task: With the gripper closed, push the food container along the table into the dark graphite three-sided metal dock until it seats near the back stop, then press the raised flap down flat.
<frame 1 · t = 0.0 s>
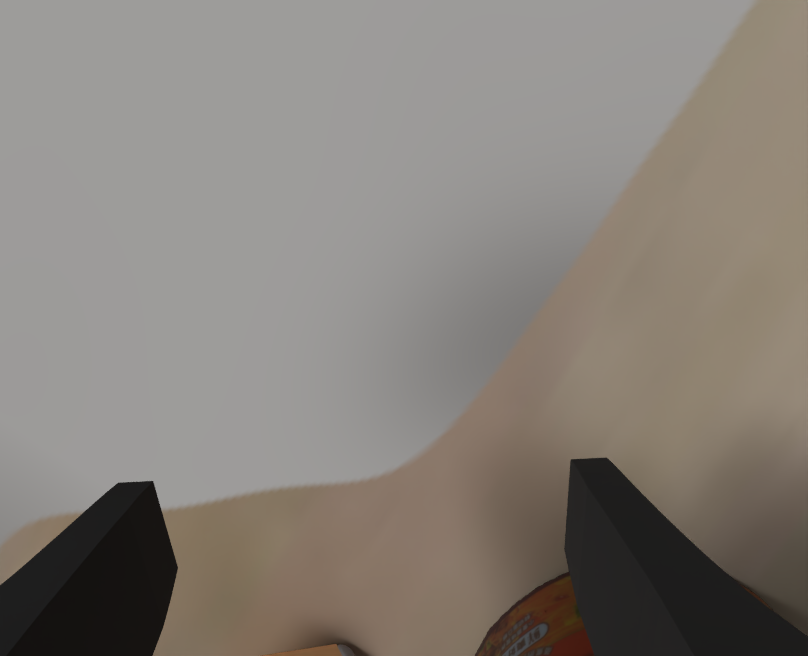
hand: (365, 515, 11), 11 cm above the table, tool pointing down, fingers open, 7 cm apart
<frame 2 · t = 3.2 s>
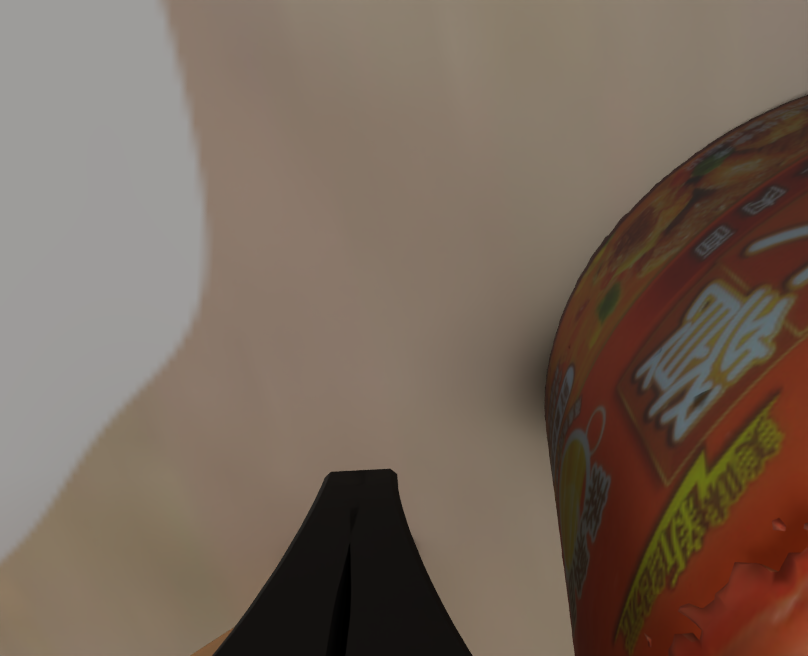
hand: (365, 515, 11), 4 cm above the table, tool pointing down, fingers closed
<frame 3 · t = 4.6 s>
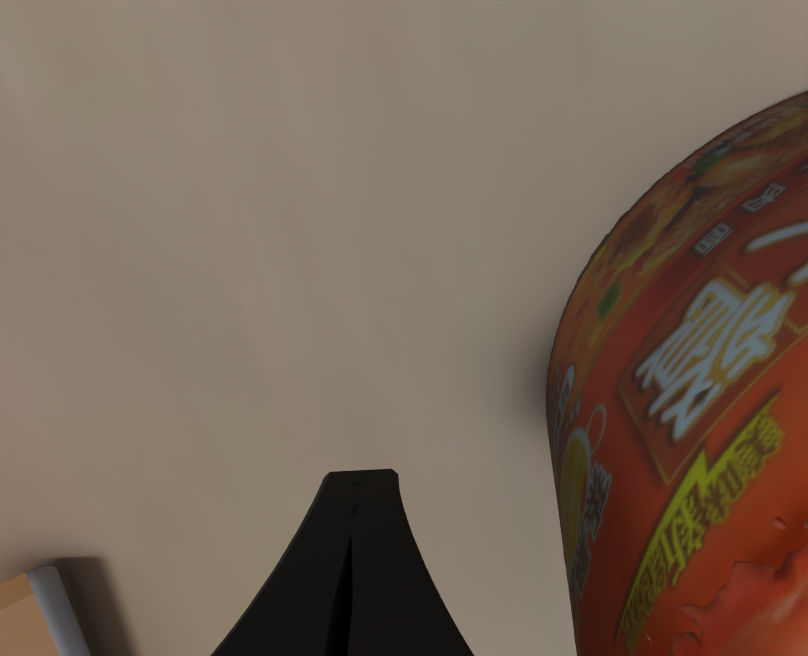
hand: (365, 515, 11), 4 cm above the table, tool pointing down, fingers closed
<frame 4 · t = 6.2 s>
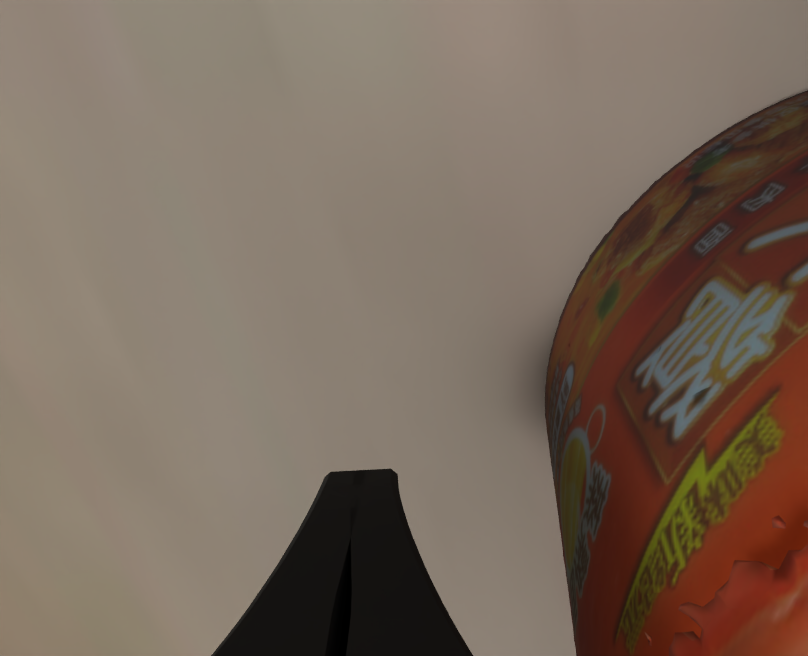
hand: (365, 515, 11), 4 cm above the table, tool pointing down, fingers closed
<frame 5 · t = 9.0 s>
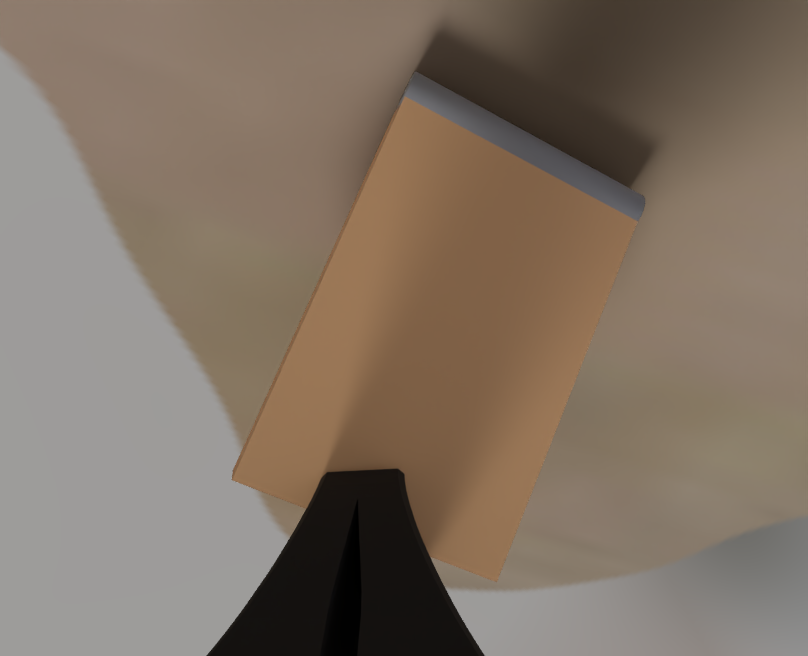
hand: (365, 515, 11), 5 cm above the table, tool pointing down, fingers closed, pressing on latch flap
latch flap: (450, 324, 12), point 3 cm above the table, hinge at 33.2°, touching gripper
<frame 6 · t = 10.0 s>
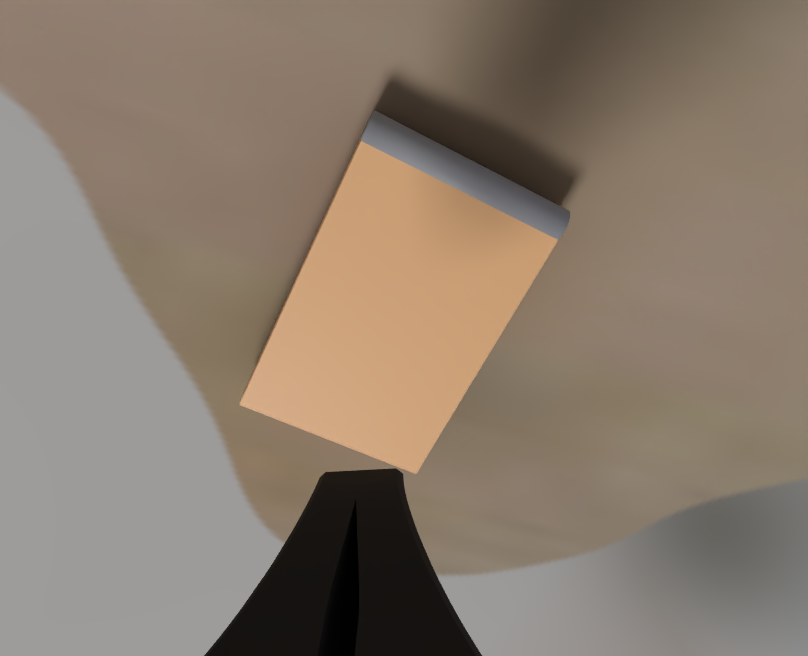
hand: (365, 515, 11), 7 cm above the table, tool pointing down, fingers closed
latch flap: (397, 308, 16), point 1 cm above the table, hinge at 2.7°
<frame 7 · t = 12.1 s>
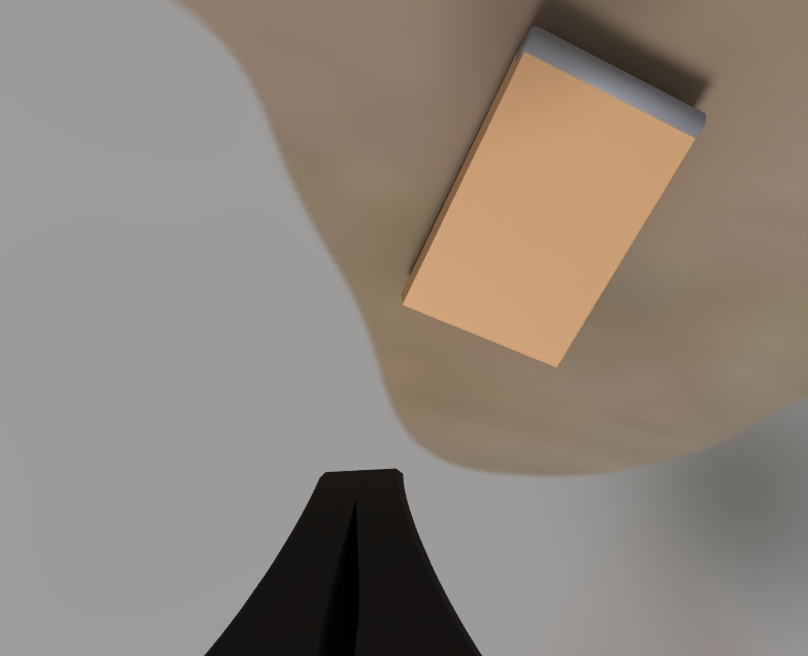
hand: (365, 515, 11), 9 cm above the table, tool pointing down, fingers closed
latch flap: (544, 210, 18), point 1 cm above the table, hinge at 2.6°
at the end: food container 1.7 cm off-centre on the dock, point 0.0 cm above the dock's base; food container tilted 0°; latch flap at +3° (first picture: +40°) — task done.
